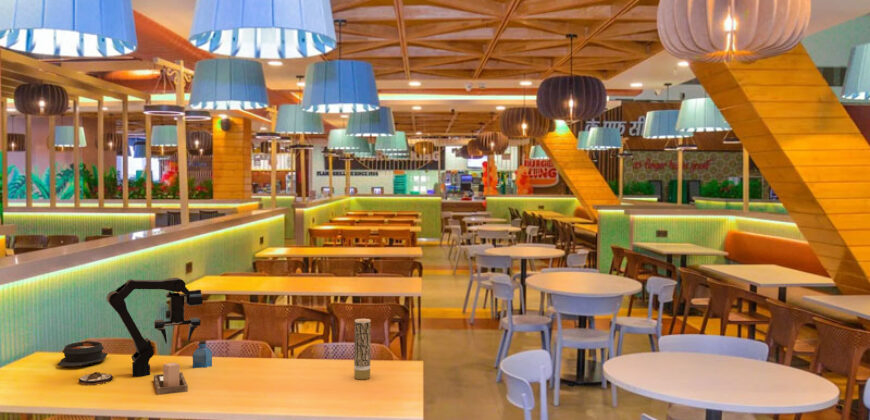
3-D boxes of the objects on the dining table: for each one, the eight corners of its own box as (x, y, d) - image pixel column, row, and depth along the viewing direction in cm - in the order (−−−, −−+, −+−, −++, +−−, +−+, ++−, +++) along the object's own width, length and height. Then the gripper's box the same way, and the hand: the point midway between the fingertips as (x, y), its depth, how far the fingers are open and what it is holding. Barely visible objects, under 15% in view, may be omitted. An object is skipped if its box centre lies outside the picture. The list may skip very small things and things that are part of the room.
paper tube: (367, 380, 299) (368, 321, 298) (352, 379, 301) (352, 321, 300) (372, 376, 306) (372, 319, 305) (357, 375, 307) (357, 318, 306)
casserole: (80, 355, 336) (80, 338, 335) (117, 357, 334) (117, 339, 333) (46, 369, 311) (46, 350, 310) (86, 371, 309) (86, 352, 309)
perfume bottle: (211, 366, 320) (212, 339, 320) (206, 369, 314) (206, 342, 313) (198, 365, 321) (198, 339, 320) (192, 369, 314) (192, 342, 314)
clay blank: (163, 389, 280) (163, 364, 280) (174, 387, 284) (174, 362, 283) (168, 391, 277) (168, 366, 277) (179, 389, 281) (179, 364, 280)
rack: (187, 393, 278) (187, 385, 278) (157, 396, 273) (157, 388, 273) (181, 379, 297) (181, 372, 297) (153, 382, 292) (153, 375, 292)
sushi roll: (96, 389, 284) (96, 378, 284) (67, 385, 289) (67, 375, 288) (123, 379, 298) (123, 369, 298) (95, 376, 303) (95, 366, 302)
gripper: (197, 302, 319) (197, 337, 320) (153, 305, 311) (153, 340, 312) (200, 306, 309) (200, 342, 309) (154, 309, 301) (154, 345, 302)
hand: (177, 342), depth 308 cm, fingers open, 9 cm apart
